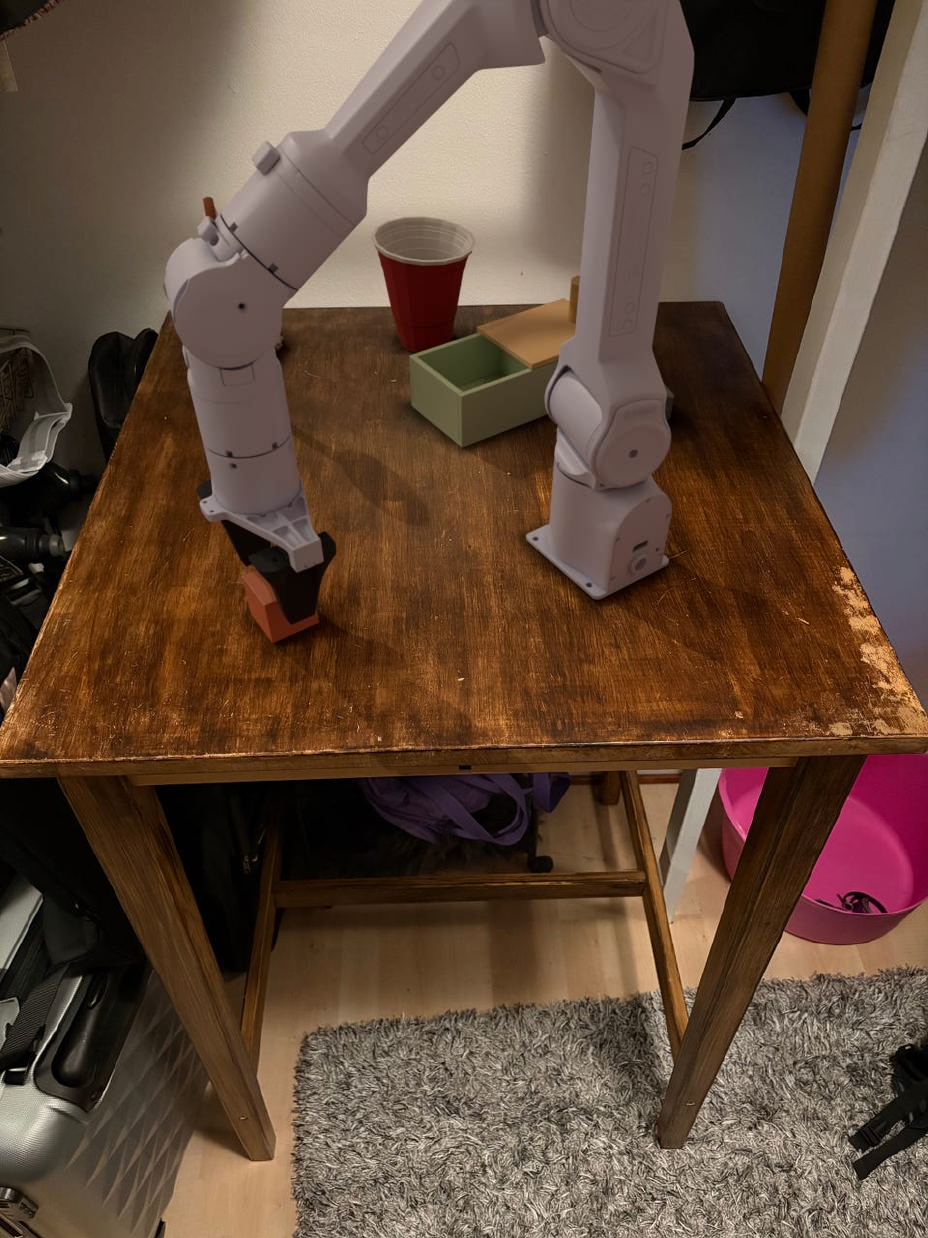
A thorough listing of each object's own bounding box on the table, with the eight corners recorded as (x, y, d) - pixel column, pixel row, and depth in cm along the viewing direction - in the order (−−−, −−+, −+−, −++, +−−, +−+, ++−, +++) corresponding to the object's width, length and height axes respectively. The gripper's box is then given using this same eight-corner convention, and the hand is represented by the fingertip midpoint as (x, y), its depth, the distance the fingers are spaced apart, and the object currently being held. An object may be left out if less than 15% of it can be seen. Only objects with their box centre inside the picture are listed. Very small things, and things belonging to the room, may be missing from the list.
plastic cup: (455, 373, 97) (453, 262, 88) (363, 356, 100) (353, 247, 91) (488, 327, 104) (490, 221, 96) (402, 313, 107) (396, 208, 98)
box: (553, 412, 91) (557, 361, 87) (461, 448, 87) (461, 396, 83) (500, 373, 97) (501, 324, 93) (411, 405, 92) (408, 355, 88)
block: (319, 622, 70) (313, 584, 67) (272, 643, 69) (264, 605, 66) (296, 593, 73) (289, 555, 70) (250, 613, 71) (241, 575, 68)
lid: (621, 337, 91) (626, 293, 87) (531, 369, 86) (534, 324, 83) (563, 303, 96) (566, 260, 93) (476, 331, 92) (477, 287, 88)
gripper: (147, 402, 61) (190, 555, 71) (236, 511, 53) (271, 668, 62) (243, 372, 64) (272, 523, 74) (342, 471, 56) (360, 627, 65)
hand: (277, 587), depth 68 cm, fingers open, 7 cm apart
